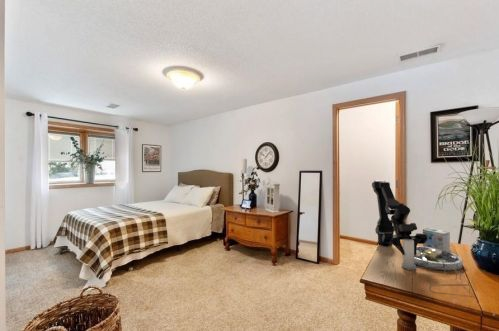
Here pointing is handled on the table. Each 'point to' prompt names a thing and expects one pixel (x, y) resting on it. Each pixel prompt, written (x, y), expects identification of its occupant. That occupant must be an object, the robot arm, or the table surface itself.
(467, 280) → the eyeglasses
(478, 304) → the table surface
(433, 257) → the carrier plate
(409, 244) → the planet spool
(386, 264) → the table surface
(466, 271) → the table surface
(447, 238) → the light bulb box
